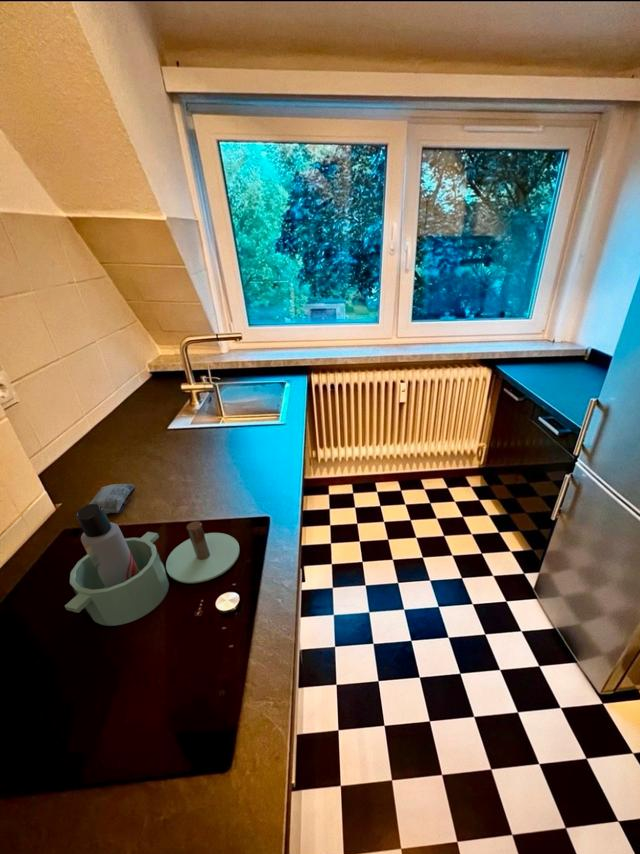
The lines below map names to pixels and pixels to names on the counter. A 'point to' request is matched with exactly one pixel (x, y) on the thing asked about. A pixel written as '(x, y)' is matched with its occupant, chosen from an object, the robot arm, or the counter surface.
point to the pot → (121, 586)
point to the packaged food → (114, 497)
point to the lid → (202, 556)
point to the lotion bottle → (106, 546)
